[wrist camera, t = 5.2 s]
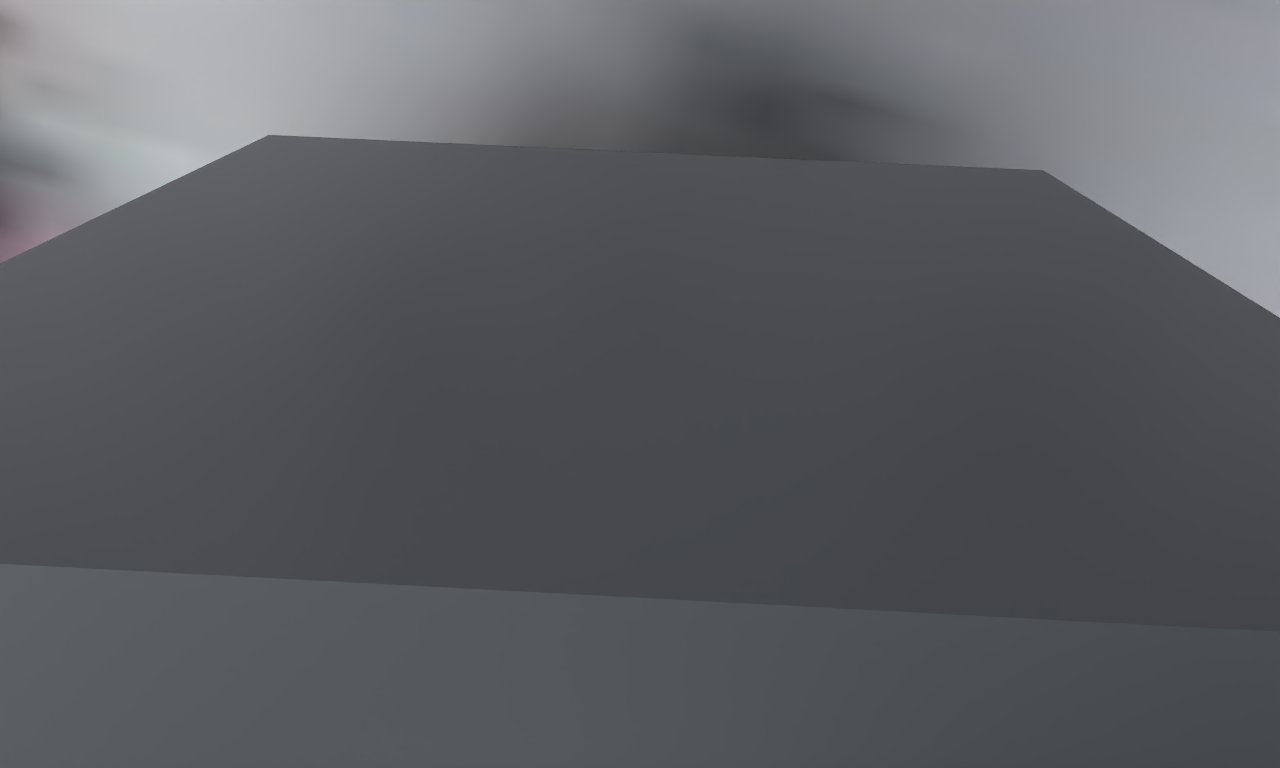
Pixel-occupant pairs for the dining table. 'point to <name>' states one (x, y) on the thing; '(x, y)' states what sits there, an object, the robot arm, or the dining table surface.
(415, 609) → the smooth grey cube
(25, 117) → the dining table surface
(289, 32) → the dining table surface
